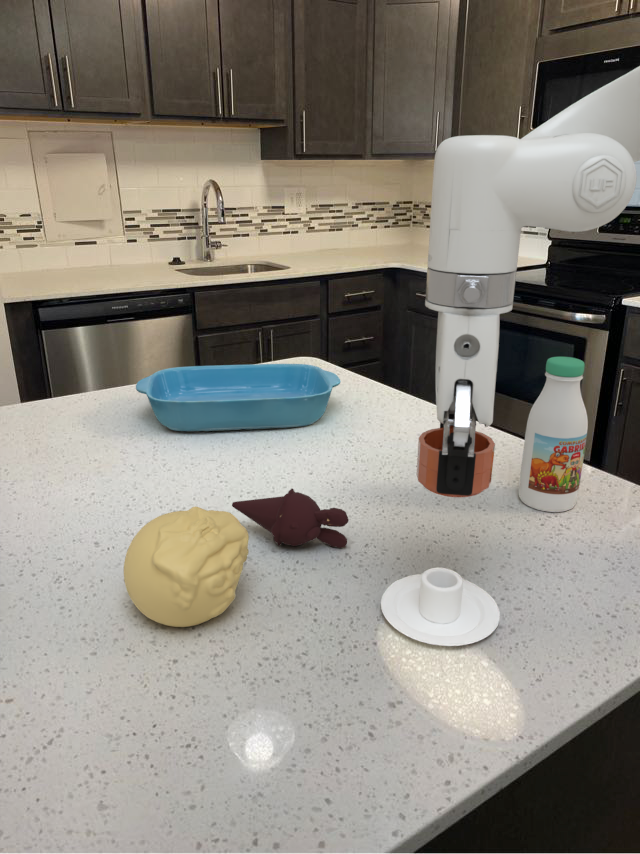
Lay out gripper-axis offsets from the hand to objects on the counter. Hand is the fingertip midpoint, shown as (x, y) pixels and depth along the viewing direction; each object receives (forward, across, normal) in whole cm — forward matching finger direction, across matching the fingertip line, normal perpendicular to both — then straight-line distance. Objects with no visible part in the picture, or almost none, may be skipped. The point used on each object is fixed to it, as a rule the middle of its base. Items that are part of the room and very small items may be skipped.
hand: (453, 473), depth 64 cm
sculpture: (+16, -5, +26) cm, 31 cm away
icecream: (+15, +10, +19) cm, 26 cm away
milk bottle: (+15, +27, -14) cm, 34 cm away
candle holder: (+15, -1, 0) cm, 15 cm away
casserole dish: (+15, +52, +37) cm, 66 cm away
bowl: (+1, 0, 0) cm, 1 cm away
